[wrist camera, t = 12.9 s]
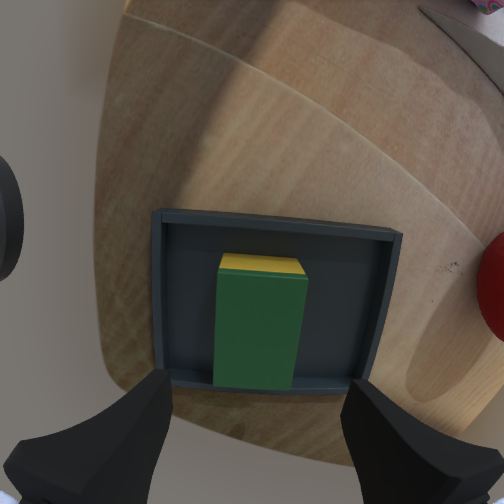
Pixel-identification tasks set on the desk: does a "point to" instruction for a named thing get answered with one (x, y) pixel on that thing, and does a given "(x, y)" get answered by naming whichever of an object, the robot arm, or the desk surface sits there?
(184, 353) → the tray
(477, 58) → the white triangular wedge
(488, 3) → the pencil case
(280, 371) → the sponge
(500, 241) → the apple
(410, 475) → the robot arm
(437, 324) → the desk surface
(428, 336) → the desk surface
